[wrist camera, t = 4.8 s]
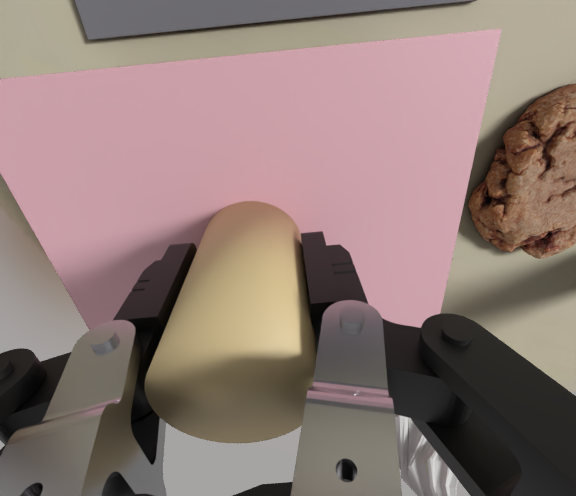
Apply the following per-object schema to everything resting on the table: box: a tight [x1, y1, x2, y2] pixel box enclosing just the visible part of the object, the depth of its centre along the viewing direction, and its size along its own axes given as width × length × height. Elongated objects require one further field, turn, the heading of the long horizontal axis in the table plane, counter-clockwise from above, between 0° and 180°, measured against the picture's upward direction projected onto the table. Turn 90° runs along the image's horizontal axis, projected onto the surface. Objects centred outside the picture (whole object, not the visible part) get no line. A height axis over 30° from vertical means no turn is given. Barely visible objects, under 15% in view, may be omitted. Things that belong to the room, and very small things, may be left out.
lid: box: [0, 29, 502, 443], centre depth 10 cm, size 12×15×8 cm
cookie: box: [468, 84, 576, 259], centre depth 19 cm, size 10×11×3 cm
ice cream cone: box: [395, 414, 458, 496], centre depth 19 cm, size 5×5×15 cm
